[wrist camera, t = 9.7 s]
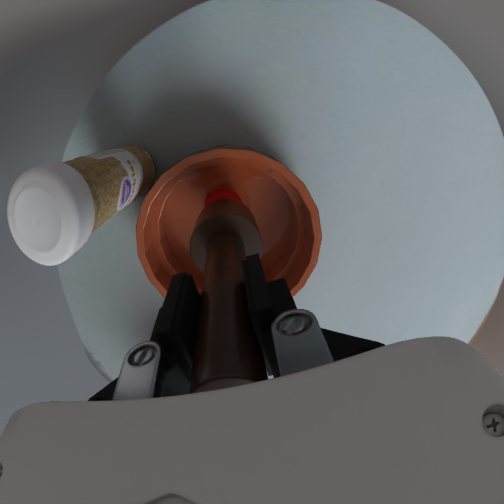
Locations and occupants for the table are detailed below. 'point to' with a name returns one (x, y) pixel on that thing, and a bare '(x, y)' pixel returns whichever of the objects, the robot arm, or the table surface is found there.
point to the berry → (222, 196)
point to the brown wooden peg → (225, 299)
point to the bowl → (253, 196)
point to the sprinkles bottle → (74, 200)
